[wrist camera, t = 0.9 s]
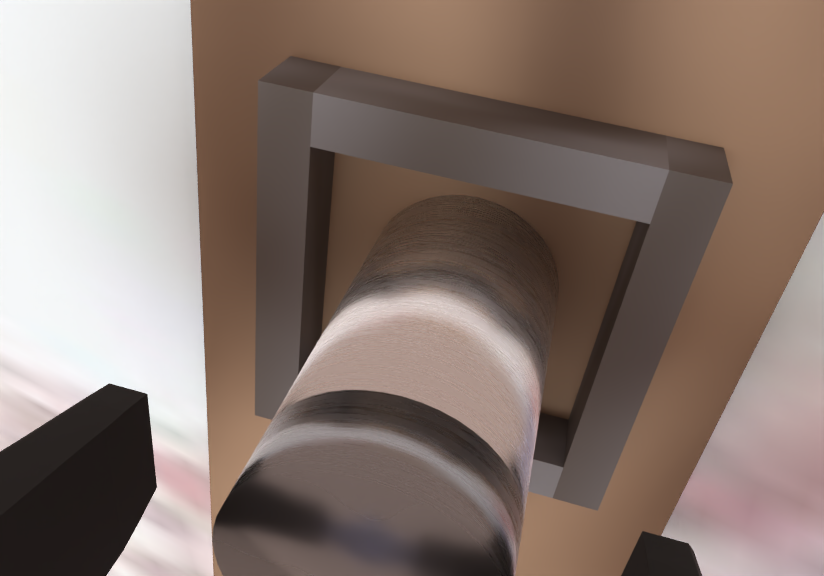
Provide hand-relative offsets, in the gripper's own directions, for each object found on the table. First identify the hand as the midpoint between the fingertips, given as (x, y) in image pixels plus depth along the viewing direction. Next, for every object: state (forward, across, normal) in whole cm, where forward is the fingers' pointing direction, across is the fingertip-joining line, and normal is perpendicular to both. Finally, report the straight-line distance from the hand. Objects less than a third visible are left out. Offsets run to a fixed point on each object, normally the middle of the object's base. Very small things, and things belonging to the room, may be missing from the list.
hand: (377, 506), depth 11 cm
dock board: (+7, 0, +7) cm, 10 cm away
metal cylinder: (+6, 0, 0) cm, 6 cm away
